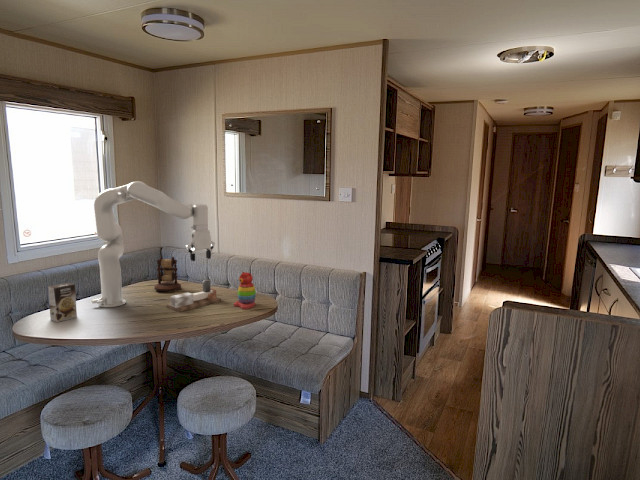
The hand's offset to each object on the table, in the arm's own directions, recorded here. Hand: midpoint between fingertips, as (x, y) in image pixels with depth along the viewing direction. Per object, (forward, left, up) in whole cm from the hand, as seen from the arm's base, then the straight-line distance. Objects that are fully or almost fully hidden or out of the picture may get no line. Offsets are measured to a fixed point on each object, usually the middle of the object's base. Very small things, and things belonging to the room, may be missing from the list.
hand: (200, 259), depth 227 cm
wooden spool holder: (-1, +32, -23) cm, 39 cm away
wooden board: (-6, -2, -23) cm, 24 cm away
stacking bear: (+11, -24, -23) cm, 35 cm away
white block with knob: (-2, -2, -21) cm, 21 cm away
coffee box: (-60, +22, -23) cm, 68 cm away
